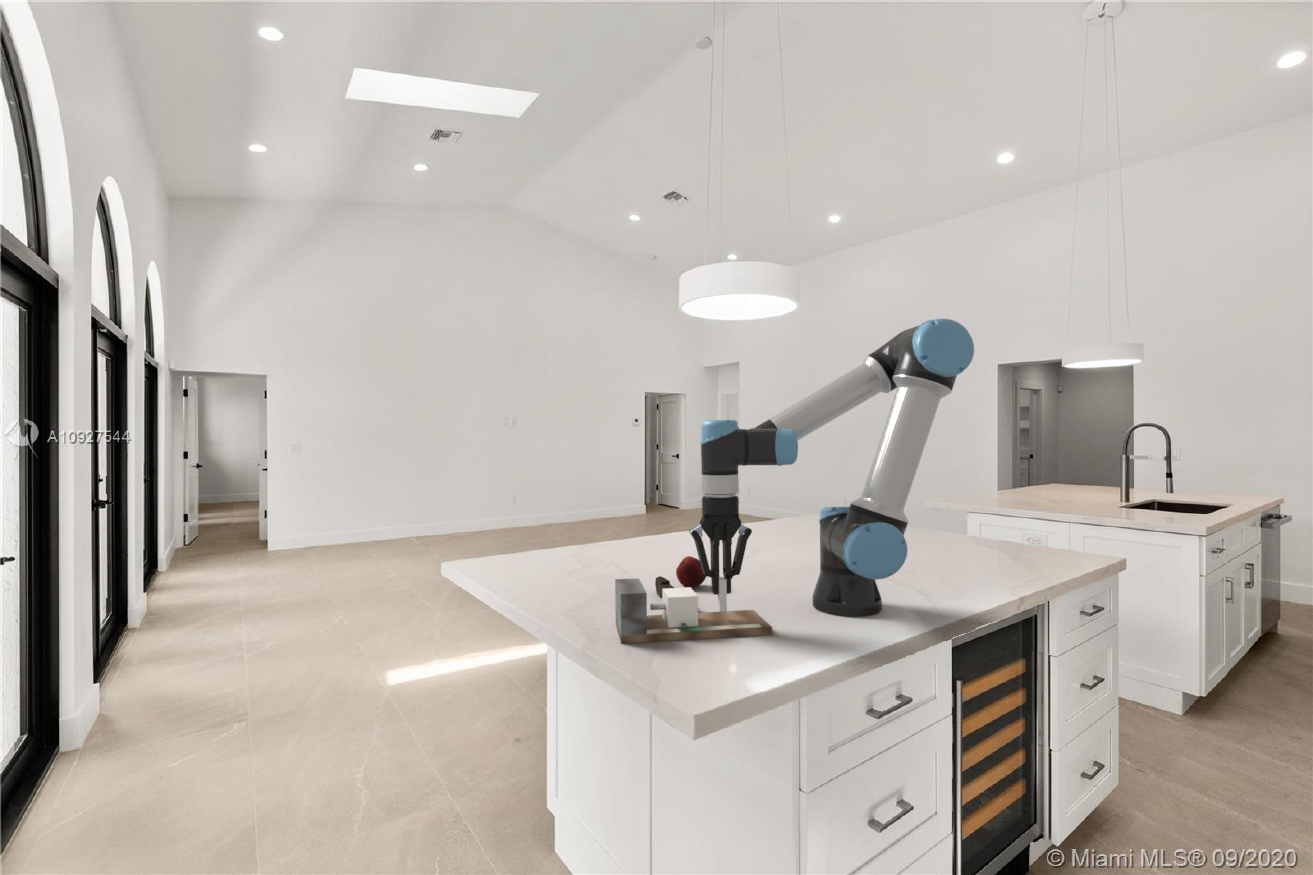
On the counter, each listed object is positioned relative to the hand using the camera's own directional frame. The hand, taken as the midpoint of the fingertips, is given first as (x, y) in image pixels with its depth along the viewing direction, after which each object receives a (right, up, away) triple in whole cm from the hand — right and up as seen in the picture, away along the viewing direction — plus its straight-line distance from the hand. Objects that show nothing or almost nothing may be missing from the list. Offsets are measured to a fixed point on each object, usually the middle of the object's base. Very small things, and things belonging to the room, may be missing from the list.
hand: (721, 609), depth 129 cm
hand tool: (-10, -4, +20) cm, 22 cm away
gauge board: (-6, -4, -1) cm, 7 cm away
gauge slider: (-10, -2, -3) cm, 11 cm away
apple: (-4, -4, +33) cm, 33 cm away
